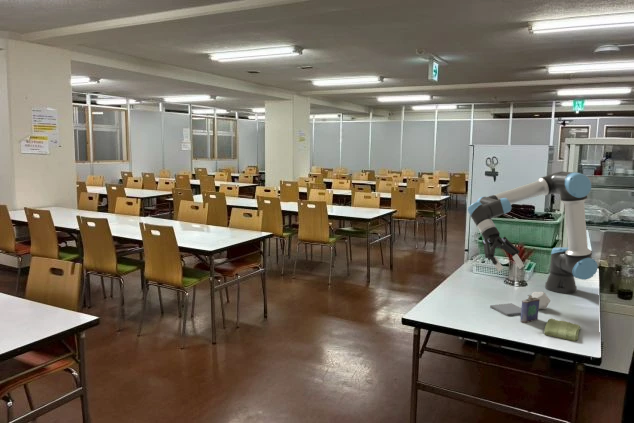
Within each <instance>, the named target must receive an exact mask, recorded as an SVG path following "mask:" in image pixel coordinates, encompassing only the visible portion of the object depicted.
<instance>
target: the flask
mask: <svg viewBox="0 0 634 423" xmlns="http://www.w3.org/2000/svg"><path fill="white" fill-rule="evenodd" d="M531 295H532V294H528V295H527V296H528V298H526V299H523V300H521V307H520V308H521V315H520V323H523V324H525V323H531V322H534V321H539V320H538V318H539V310H540V309H539V301H540V300H539V299H538V298H535V297H534V298H532V296H531Z"/></svg>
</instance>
